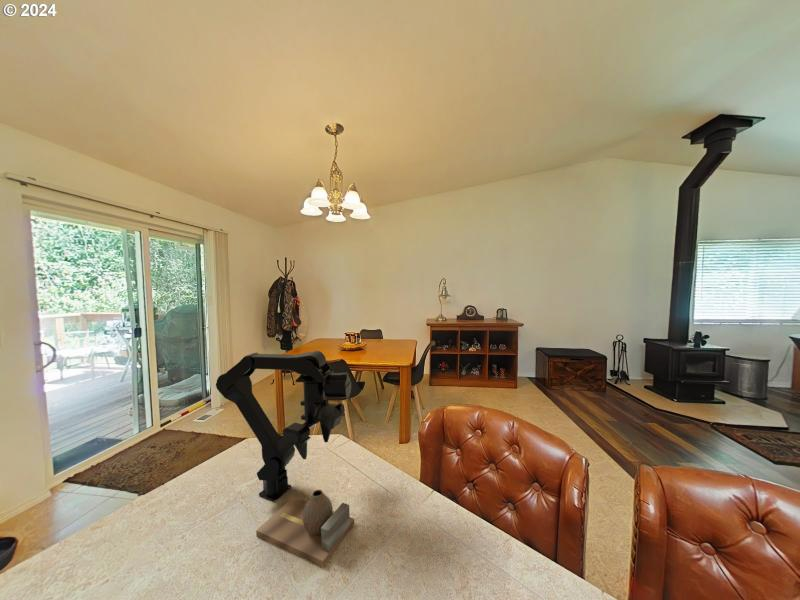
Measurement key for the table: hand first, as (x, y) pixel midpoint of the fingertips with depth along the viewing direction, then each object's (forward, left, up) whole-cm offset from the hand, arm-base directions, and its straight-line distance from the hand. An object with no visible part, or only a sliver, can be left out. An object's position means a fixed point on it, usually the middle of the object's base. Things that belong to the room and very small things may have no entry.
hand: (315, 449), depth 81 cm
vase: (+9, -11, -12) cm, 19 cm away
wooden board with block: (+6, -11, -13) cm, 18 cm away
